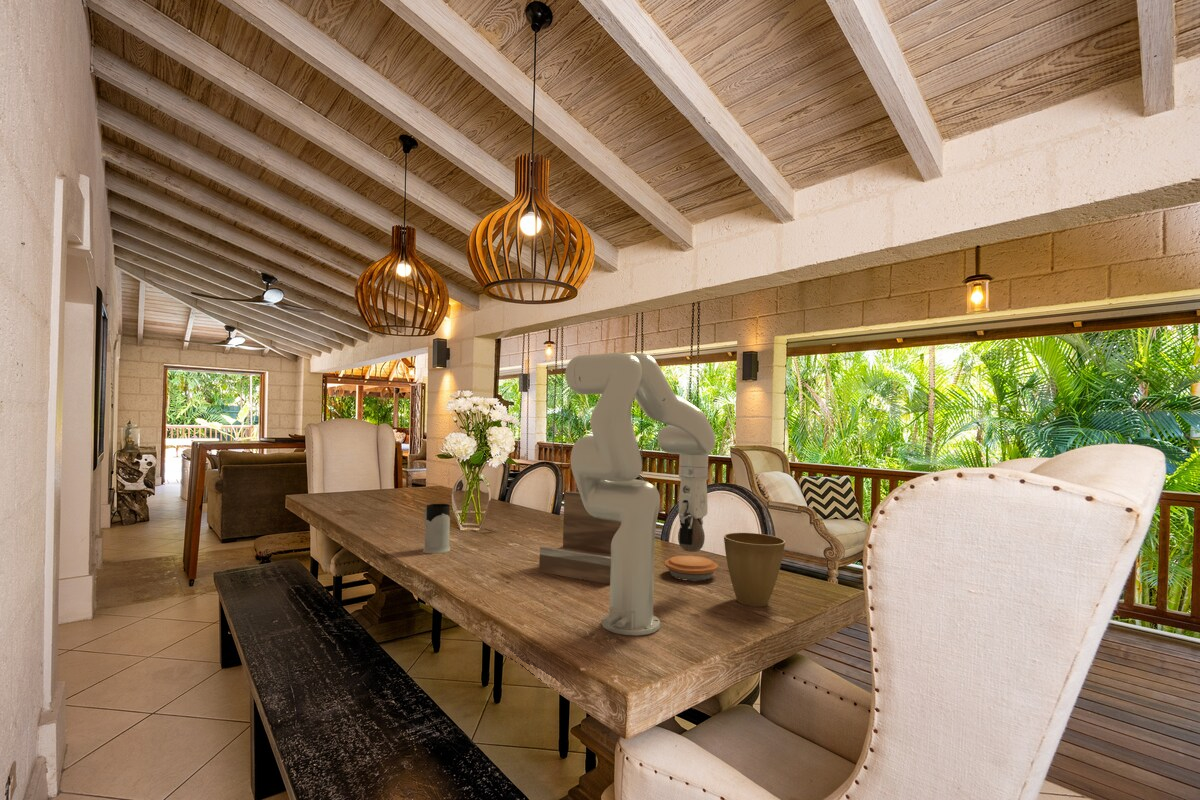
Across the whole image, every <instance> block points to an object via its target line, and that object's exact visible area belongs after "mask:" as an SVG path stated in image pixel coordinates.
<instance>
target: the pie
mask: <svg viewBox="0 0 1200 800" xmlns="http://www.w3.org/2000/svg"><path fill="white" fill-rule="evenodd" d="M664 565H665V567H666V568H667V569H668V572H669V573H670V576H672V577H673V576H674V577H676V578H675V579H677V578H680V579H679V580H681V579H687V580H705V581H707V580H706V579H708V580H710V579H711V578H712V576H713V575H714V573H715V572H716V570H717V569H718V568H719V564H718V563H716V562H714V561H713V560H712V559H709V558H707V557H702V556H700V555H699V556H697V555H675V556H672V557H670V558H668V559H666V560H665V561H664ZM674 577H673V578H674ZM709 578H710V579H709Z"/></svg>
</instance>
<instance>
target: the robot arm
mask: <svg viewBox="0 0 1200 800" xmlns="http://www.w3.org/2000/svg"><path fill="white" fill-rule="evenodd" d="M564 373H565V381H566V384H567V387H569V389H570V390H571V391H573V392H574V393H576V394H578V395H600V397H599V400H598V401H597V403H596V405H595V407H594V409H593V411H592V413H591V417H590V428H591V432H592V435H586V436H582V437H581V438H579V439H577V441H576V442H574V444H573V446H572V448H571V452H570V467H571V468H570V469H571V472H572V476H573V478H574V480H575V484H576V488H577V489H578V492H579V493H580V496H581V499H582V502H583V505H584V507H585V509H586V511H587V512H588V513H589V514H590V515H591V516H593V517H595V518H599V519H605V520H611V521H617V522H621V526H620V528H619V529H618V531H617V532H616V533H615V535H614V537H613V539H612V542H611V568H610V584H609V613H606V614H605V615H604V616H603V617H602V619H601V625H602V627H603V629H606V630H607V631H609V632H610V633H614V634H617V635H622V636H623V635H624V636H633V637H634V636H645V635H650V634H653V633H656V632H657V631H659V630H660V628H661V620H660V619H659V618H658V617H657V616H656V615H654V590H655V589H654V588H655V587H654V584H655V583H654V580H655V538H656V529H657V521H658V516H659V511H660V505H661V497H660V496H661V495H660V492H659V490H658V488H657V487H656V486H655V485H653V484H652V483H650V482H649V481H645V480H642V479H637V478H638V477H639V476H640V475H641V473H642V470H643V461H642V456H641V451H640V447H639V444H638V441H637V440H638V439H637V437H636V433H635V429H634V426H633V422H632V417H631V416H632V413H631V412H632V406H633V403H634V400H635V401H636V402H637V404H638V405H639V407H640V408H641V410H642V412H643V413H644V414H645V415H646V416H647V418H650V419H652V420H654V421H657V422H659V423H662V424H665V426H664V427H662V428H661V429H660V430H659V432H658V434H657V443H658V446H659V448H660V449H661V450H662V451H663V452H664V453H667V454H669V455H670V454H671V455H679V458H678V459H679V460H678V461H679V464H678V479H680V484H679V493H678V495H679V496H678V517H679V523H680V524H679V529H680V543H681V544H687V545H691V544H692V536H693V529H691V527H692V522H693V517H694V518H695V519H697V520H698V522H699V523H700V525H701V526H702V528H703V525H704V520H703V518H704V517H706V516H707V515H708V485H707V484H708V483H707V481H708V477H709V476H708V475H709V454H711V452H713V450H714V448H715V445H716V436H715V431H714V429H713V427H712V425H711V423H710V421H709V419H708V417H707V416H706V414H705V413H704V412H703V411H702V410H701V409H700V408H698V407H697V406H695V405H694V404H692V403H691V402H689V401H688V400H686V399H685V398H683V397H681V396H678V394H675V392H674V390H673V389H672V387H671V385H670V383H669V382H668V379H667V378H666V376H665V374H664V372H663V371H662V369H661V367H660V366H659V364H658V362H657V360H656V359H655V358H654V357H653V356H651V355H650V354H648V353H641V352H638V353H637V352H636V353H635V352H634V353H624V352H609V353H597V354H581V355H577V356H575V357H573V358H571V359H570V360H569V361H568V363H567V366H566V368H565V372H564ZM688 520H689V523H688ZM703 529H704V528H703Z"/></svg>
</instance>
